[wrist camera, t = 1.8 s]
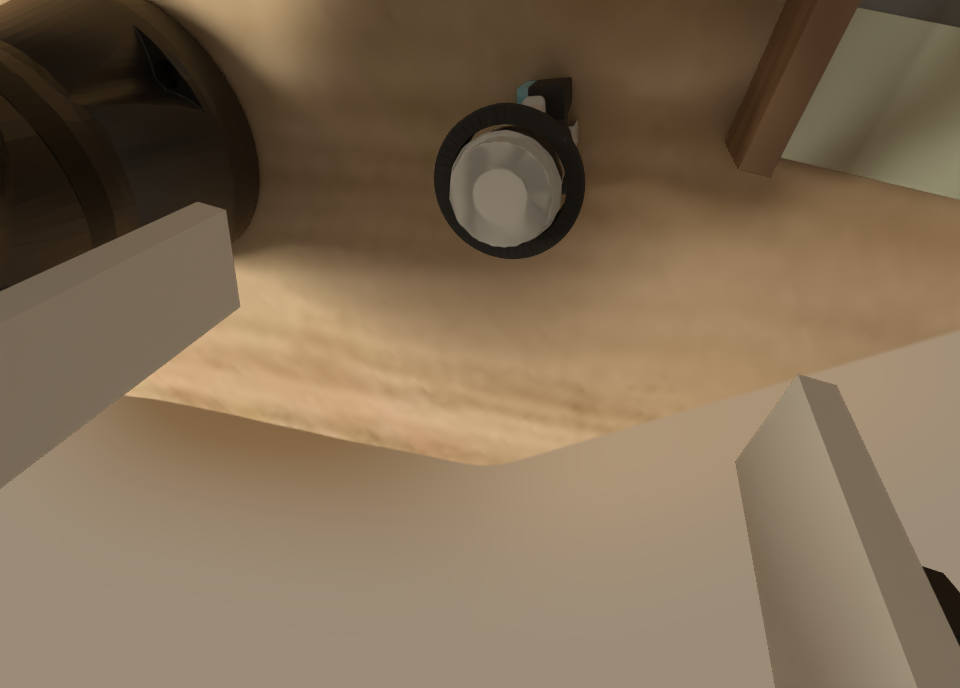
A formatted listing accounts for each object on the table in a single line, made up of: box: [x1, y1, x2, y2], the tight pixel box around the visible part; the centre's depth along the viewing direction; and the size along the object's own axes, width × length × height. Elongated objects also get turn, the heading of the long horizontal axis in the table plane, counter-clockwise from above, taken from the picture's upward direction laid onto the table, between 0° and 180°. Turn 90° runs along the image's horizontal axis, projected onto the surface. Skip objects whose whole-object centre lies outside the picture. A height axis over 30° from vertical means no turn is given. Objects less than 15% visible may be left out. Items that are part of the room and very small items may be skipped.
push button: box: [434, 77, 585, 259], centre depth 21 cm, size 7×5×10 cm
